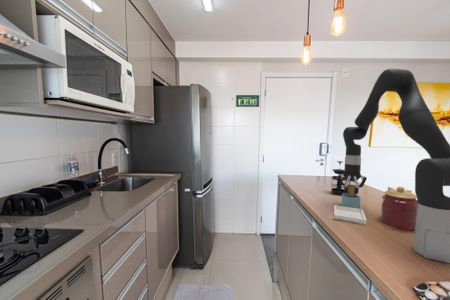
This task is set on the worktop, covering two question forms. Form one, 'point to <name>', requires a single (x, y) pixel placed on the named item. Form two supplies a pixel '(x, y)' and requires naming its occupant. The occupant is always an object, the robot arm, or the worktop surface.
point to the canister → (399, 209)
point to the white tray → (349, 215)
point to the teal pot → (351, 201)
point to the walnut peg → (351, 191)
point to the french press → (338, 182)
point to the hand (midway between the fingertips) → (351, 193)
